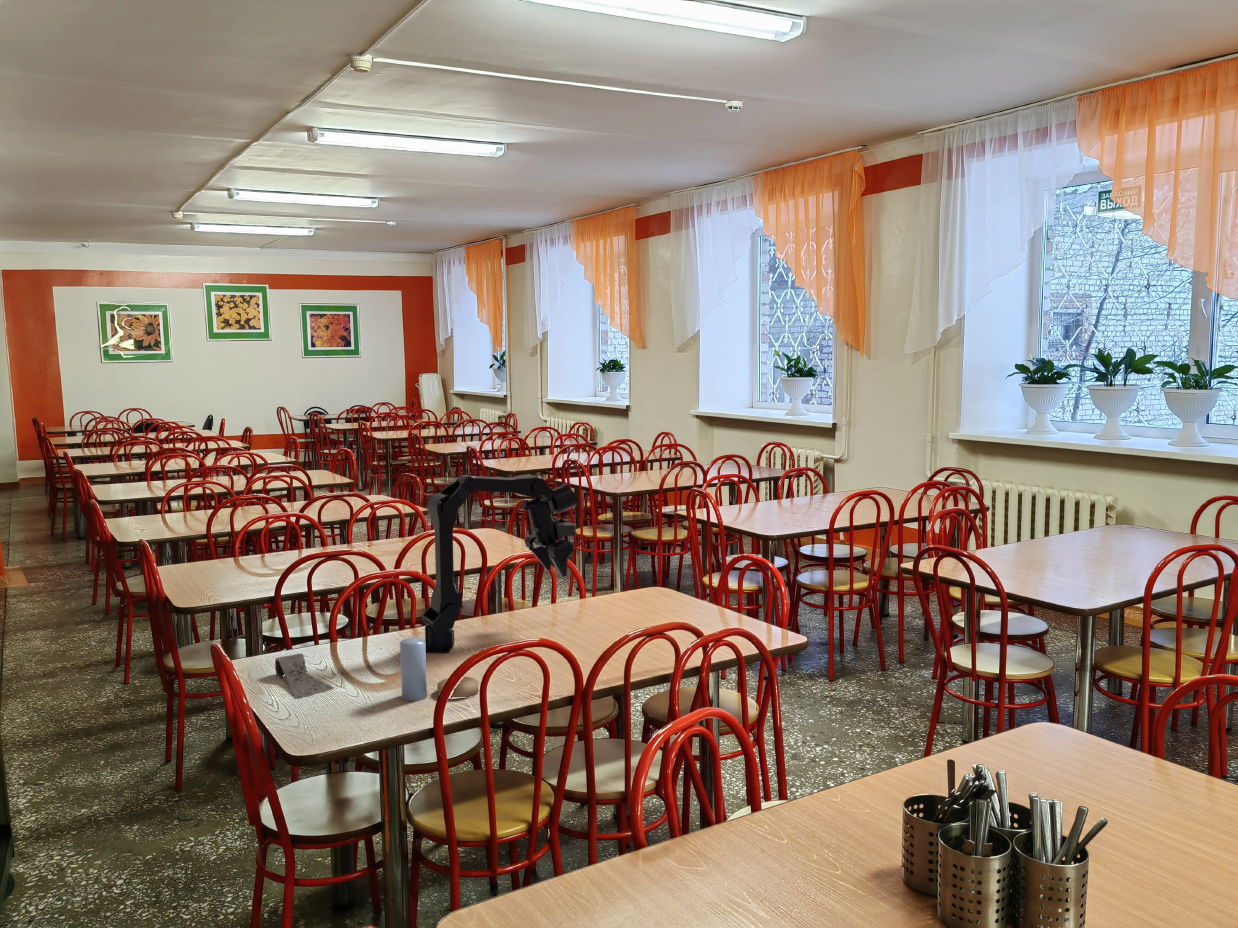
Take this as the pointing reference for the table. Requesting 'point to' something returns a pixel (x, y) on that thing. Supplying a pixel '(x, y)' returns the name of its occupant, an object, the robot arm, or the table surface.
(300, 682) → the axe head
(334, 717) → the table surface
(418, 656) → the pale blue pillar candle
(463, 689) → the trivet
